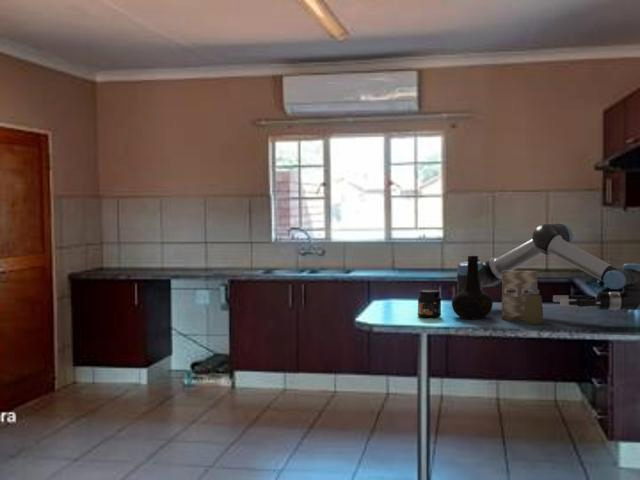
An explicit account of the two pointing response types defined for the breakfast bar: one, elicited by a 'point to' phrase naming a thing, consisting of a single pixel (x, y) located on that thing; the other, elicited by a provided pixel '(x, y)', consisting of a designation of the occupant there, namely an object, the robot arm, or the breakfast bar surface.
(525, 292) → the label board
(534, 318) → the squeeze bottle
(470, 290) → the glass bottle
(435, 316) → the supplement container
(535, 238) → the robot arm
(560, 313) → the breakfast bar surface
